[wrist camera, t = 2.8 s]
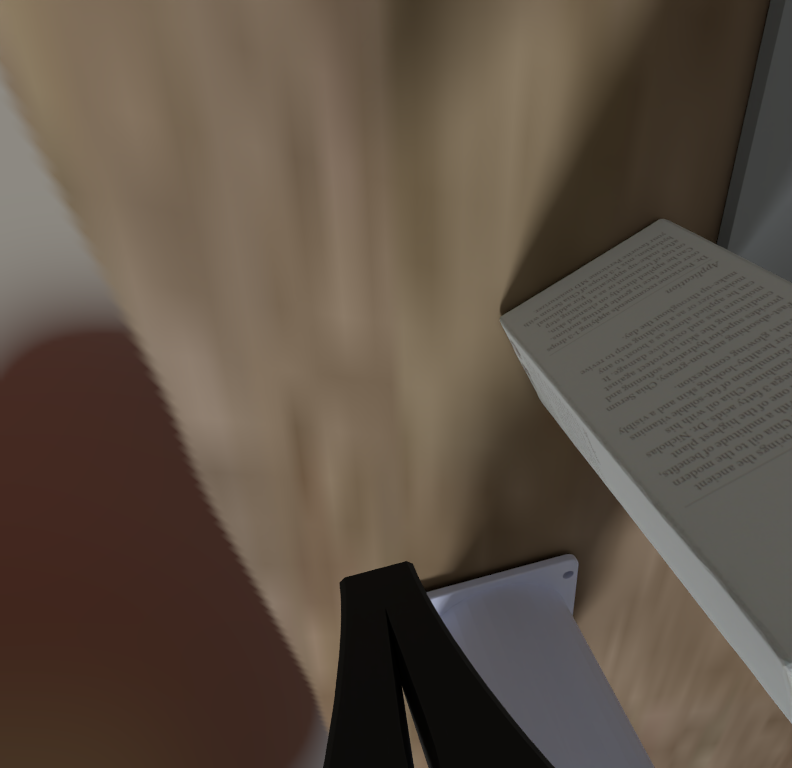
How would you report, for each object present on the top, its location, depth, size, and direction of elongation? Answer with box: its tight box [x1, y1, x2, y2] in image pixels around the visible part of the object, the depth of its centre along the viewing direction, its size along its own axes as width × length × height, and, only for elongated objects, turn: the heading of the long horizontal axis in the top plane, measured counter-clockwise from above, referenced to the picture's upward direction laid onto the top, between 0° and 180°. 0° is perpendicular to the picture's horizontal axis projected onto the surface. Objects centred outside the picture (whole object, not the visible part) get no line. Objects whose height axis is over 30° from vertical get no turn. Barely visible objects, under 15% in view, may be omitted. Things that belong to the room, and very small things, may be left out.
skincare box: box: [500, 219, 792, 723], centre depth 14 cm, size 6×4×12 cm
